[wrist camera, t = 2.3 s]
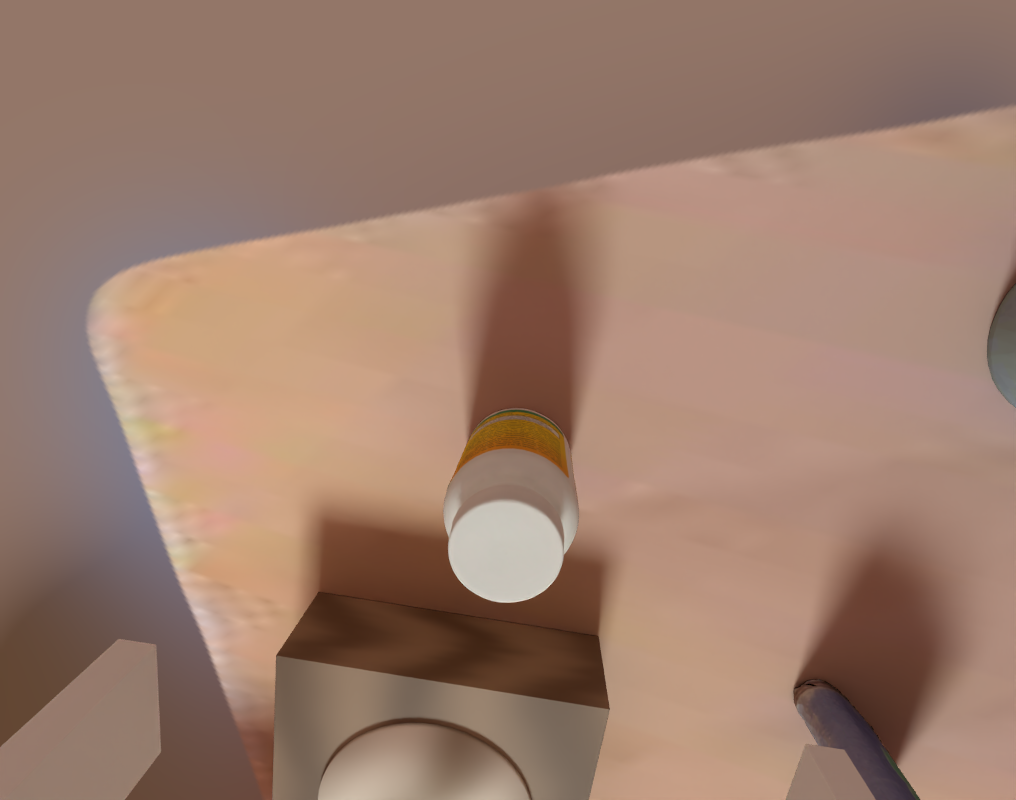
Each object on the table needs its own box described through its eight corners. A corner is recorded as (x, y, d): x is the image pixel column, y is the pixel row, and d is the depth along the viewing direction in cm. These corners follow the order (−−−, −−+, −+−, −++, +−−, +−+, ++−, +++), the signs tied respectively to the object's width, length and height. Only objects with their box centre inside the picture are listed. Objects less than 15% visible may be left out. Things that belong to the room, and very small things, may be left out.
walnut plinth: (598, 636, 30) (610, 714, 25) (553, 846, 34) (555, 951, 29) (318, 592, 30) (272, 660, 25) (307, 805, 34) (267, 901, 29)
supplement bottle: (584, 483, 27) (607, 597, 18) (489, 515, 28) (464, 640, 19) (547, 389, 26) (552, 459, 17) (449, 425, 27) (402, 511, 18)
